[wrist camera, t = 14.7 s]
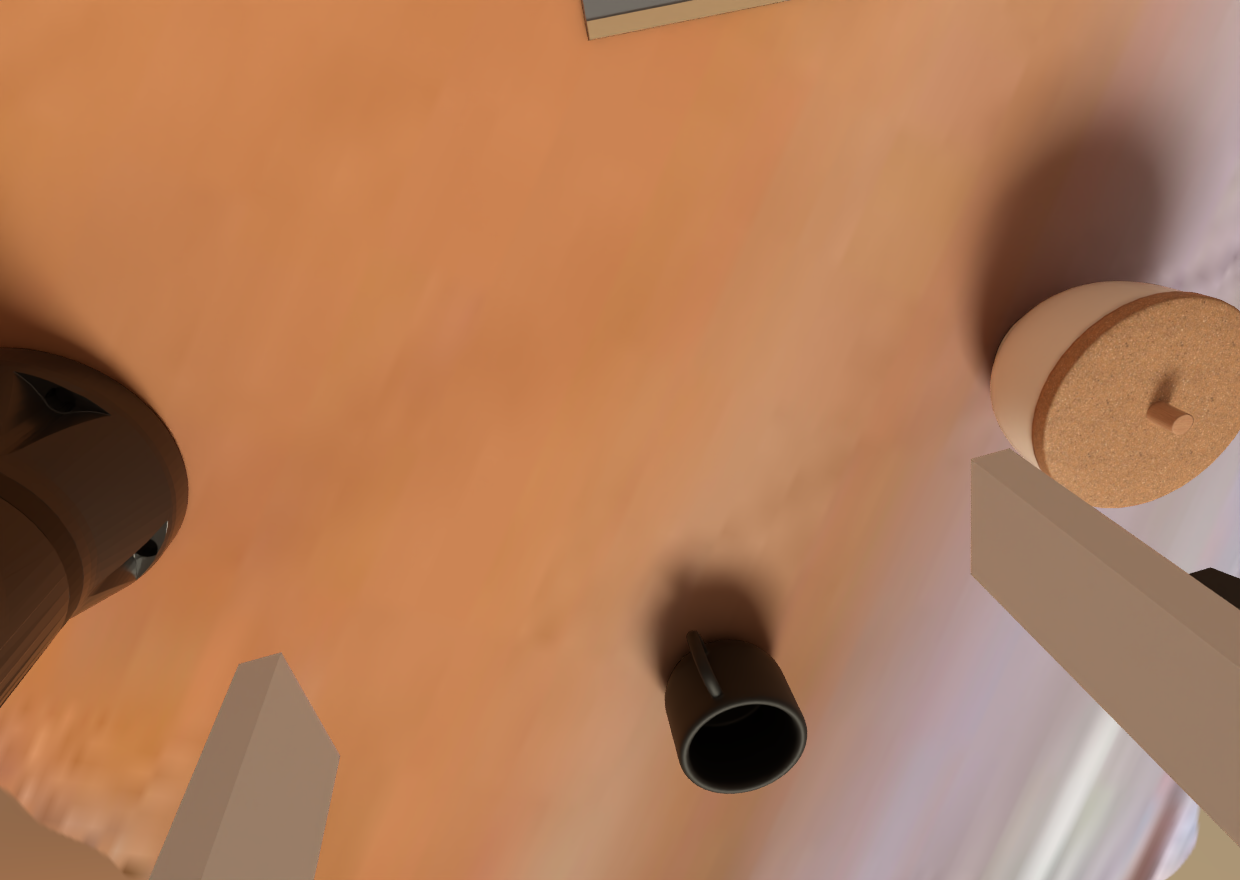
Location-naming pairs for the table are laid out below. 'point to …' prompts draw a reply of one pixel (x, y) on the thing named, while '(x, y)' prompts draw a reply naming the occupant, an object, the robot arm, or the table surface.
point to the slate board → (653, 13)
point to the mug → (733, 716)
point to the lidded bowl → (1120, 388)
